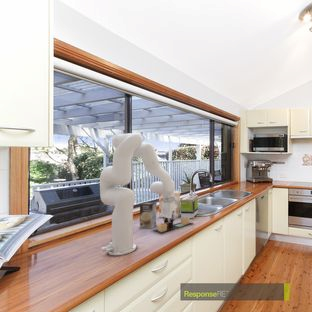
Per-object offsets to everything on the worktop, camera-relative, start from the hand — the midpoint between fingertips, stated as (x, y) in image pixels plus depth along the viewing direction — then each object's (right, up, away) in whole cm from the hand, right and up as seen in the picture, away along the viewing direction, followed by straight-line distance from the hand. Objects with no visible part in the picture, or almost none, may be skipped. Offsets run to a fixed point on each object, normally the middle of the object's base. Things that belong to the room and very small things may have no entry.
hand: (168, 227), depth 142 cm
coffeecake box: (-9, -2, +31) cm, 32 cm away
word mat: (+3, -1, +4) cm, 5 cm away
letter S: (0, -1, 0) cm, 1 cm away
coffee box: (-15, -1, +5) cm, 16 cm away
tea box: (+7, -2, +33) cm, 34 cm away
